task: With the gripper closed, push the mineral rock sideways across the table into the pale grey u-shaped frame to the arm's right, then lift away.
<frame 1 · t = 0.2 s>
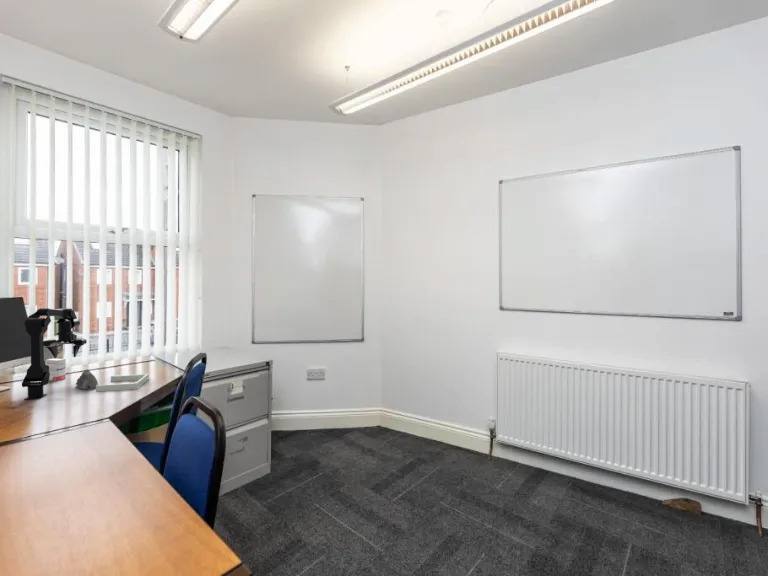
hand: (65, 357, 213), 14 cm above the table, fingers open, 9 cm apart
coffee box: (53, 370, 237), on the table
mineral rock: (87, 387, 206), on the table
pale grey u-shaped frame: (123, 384, 210), on the table
ink box: (55, 379, 218), on the table
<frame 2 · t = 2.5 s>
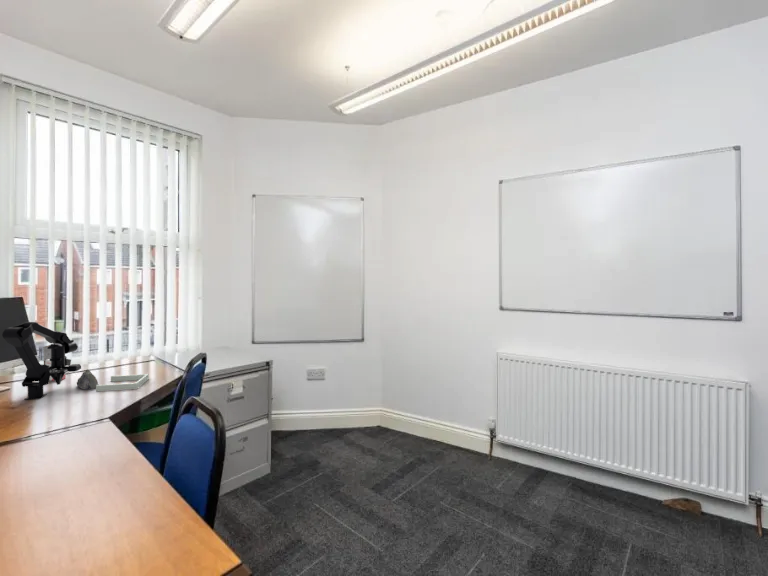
hand: (58, 384, 202), 2 cm above the table, fingers closed
nothing on the table moved.
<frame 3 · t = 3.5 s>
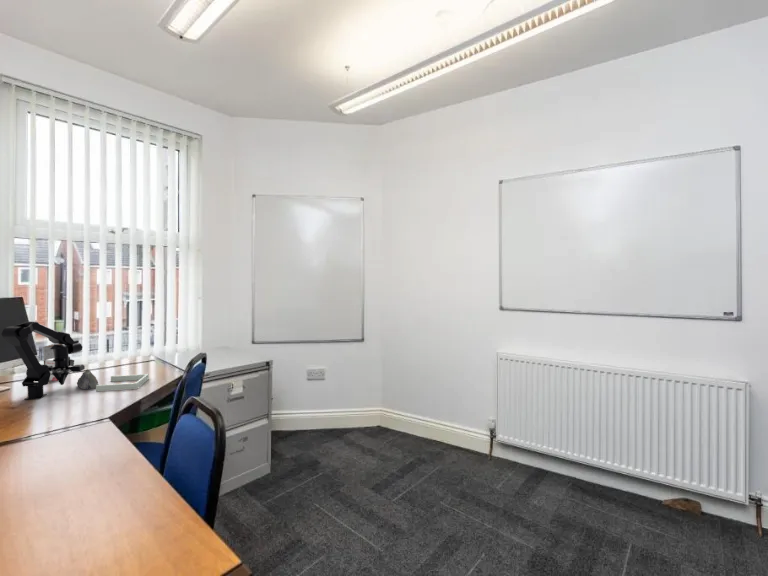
hand: (62, 384, 202), 2 cm above the table, fingers closed
nothing on the table moved.
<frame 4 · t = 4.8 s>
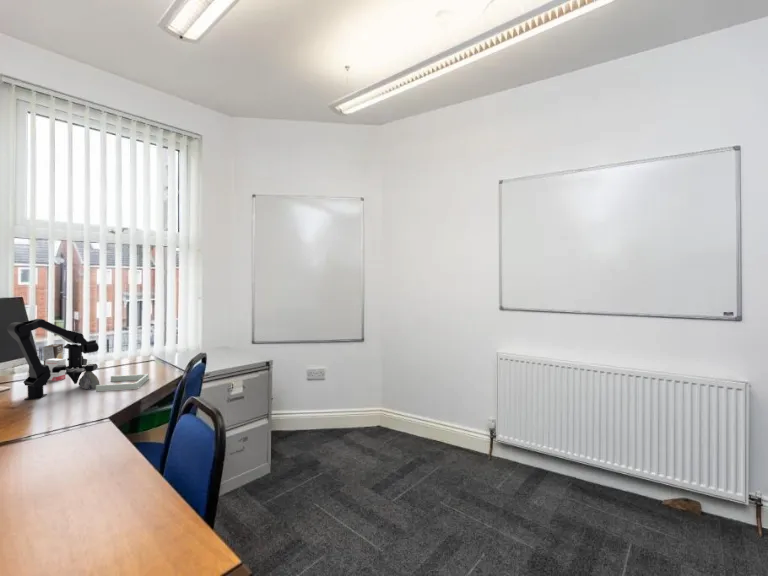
hand: (75, 383, 204), 2 cm above the table, fingers closed
mineral rock: (89, 387, 206), on the table, touching gripper
everything else where it was.
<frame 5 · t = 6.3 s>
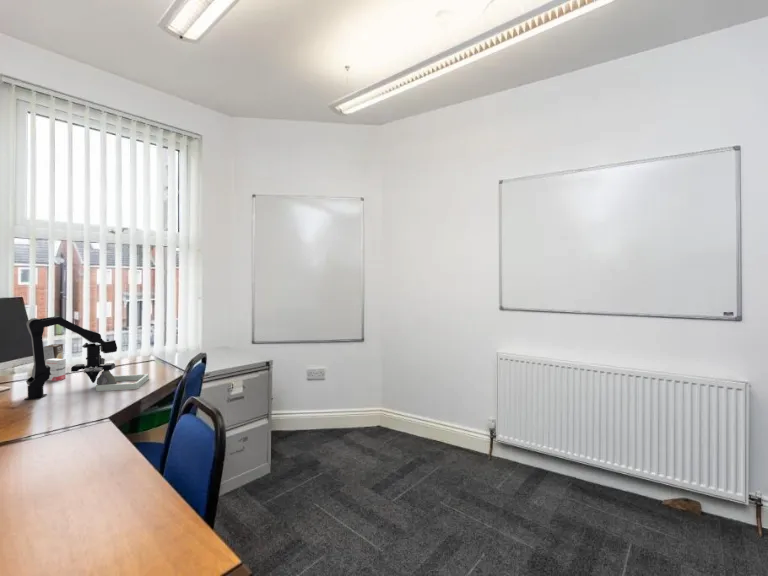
hand: (93, 382, 206), 2 cm above the table, fingers closed
mineral rock: (106, 386, 208), on the table, touching gripper
everything else where it was.
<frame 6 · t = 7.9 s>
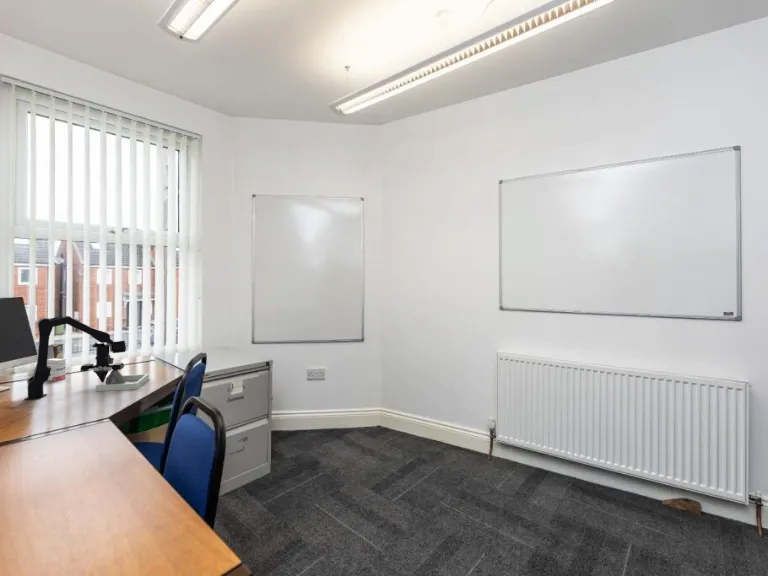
hand: (102, 382, 207), 2 cm above the table, fingers closed
mineral rock: (115, 385, 209), on the table, touching gripper
everything else where it was.
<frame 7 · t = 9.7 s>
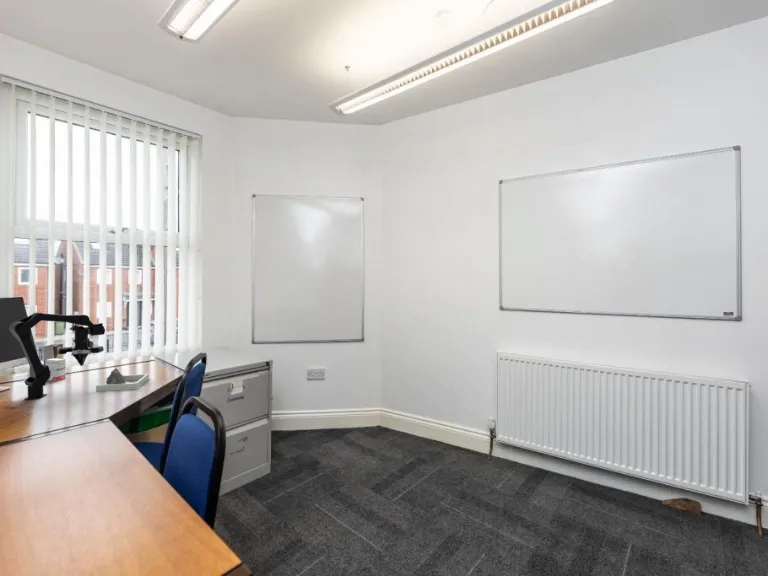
hand: (81, 365, 205), 12 cm above the table, fingers closed
mineral rock: (116, 386, 209), on the table
everything else where it was.
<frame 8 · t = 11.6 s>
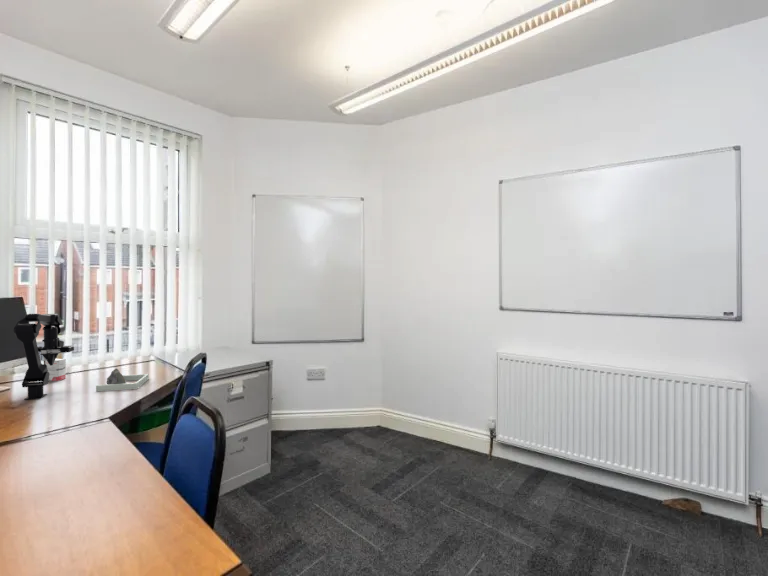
hand: (51, 365, 204), 12 cm above the table, fingers closed
nothing on the table moved.
at the end: mineral rock inside the target area (2.9 cm from its centre), on the table; mineral rock moved 14.1 cm from its start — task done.
